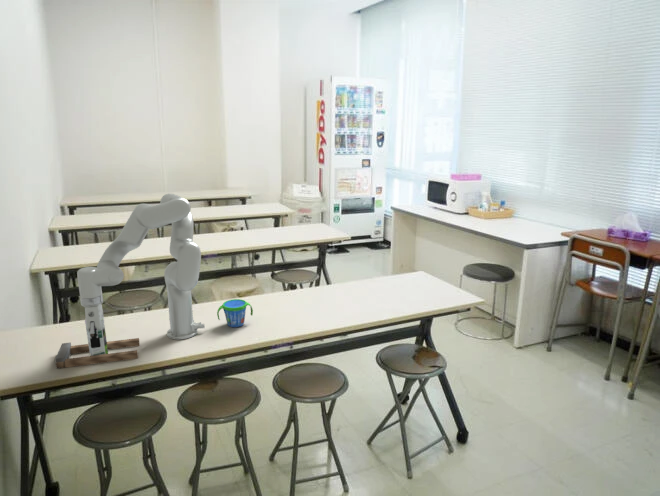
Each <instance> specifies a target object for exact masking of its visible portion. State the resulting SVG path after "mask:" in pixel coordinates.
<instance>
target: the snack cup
mask: <svg viewBox="0 0 660 496" xmlns="http://www.w3.org/2000/svg"><path fill="white" fill-rule="evenodd" d="M247 306H249V307H250V316H253V313H254V310H253V307H252V305H251V303H249V302H247V301H246V300H245V299H239V298H238V299H237V298H236V299H235V298H234V299H229V300H226V301H224V302H223V303H222V305H220V306H219V307H218V309H217V312H216V313H217V315H216V316H217V319H218V321H220V320H221V319H220V315H219V314H220V313H219V312H220V311H221V310H222V309H223V312H224V315H225V321H226V324H227V326H228V327H230V328H238V327H239V328H240V327H242V326H244V324H245V318H246V309H247Z"/></svg>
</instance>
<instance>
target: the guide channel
mask: <svg viewBox="0 0 660 496" xmlns="http://www.w3.org/2000/svg"><path fill="white" fill-rule="evenodd" d="M71 343H72V342H64V343H61V345H60V347H59V350H58V352H57V353H56V356H55V358H54V362H55V368H56V369H57V370H58V369H65V368H73V367H79V366H89V365H95V364H104V363H111V362H121V361H126V360H127V361H128V360H133V359H139V353H138V350H137V349H136V350H135V349H134V350H125V351H120V352H119V351H118V352H112V353H111V352H110V353H108V354H102V355H94V356H91V355H87V356H79V357H71V355H75V354H83V353H90V352H89V345H88V343H86V344H77V345H72V344H71ZM140 345H141V344H140V338H139V337H136V338H127V339H120V340H113V341H111V340H110V341H107V348H108V350H114V349H115V350H116V349H122V348H124V349H125V348H132V347H139V346H140Z"/></svg>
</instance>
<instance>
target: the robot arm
mask: <svg viewBox="0 0 660 496" xmlns="http://www.w3.org/2000/svg"><path fill="white" fill-rule="evenodd" d="M191 211H192V210H191V204H190V202H189V200H188V199H186V198H185V197H182V196H179V195H178V194H174V193H166V194H164V195H162V197H161V199H160V202H159V203H158V204H155V205H151V204H149V203H139V204H137V206H135V208H134V209H133V211H132V212H131V214H130V215H129V217H128V218H127V221H126V222H125V224H124V226H123V227H122V230H121V231H120V233H119V235H118V236H117V237H116V238H114V240H113V241H112V242H111V243H110V244H109V245H108V246H107V248H106V249H105V250H104V252H103V254H102V255H101V256H100V259H99V261H98V262H97V265H96V266H86V267H80V268H79V269H78V270H77V271H76V272H77V273H76V274H77V275H76V276H77V283H78V285H77V286H78V291H79V298H80V299H79V300H80V306H82V307H83V308H84V314H85V319H86V324H87V330H88V331H89V332H90V342H91V348H97V347H100V346H101V345H100V337H99V336H98V330H102V328H103V327H102V318H103V320H104V321H105V317H104V311H103V305H102V304H103V303H104V297H103V291H102V290H103V289H102V287H113V286H116V285H119V284H120V283H122V281H124V277H125V274H124V271H123V270H122V269H121V268H120V267H119V266H120V264H121V262H122V261H123V259H124V258H125V256H127V254H128V253H130V252H132V251H134V250H136V249H139V247H140V246H141V245H142V243H143V242H144V239H145V237H146V236H147V235H148V232H149V231H150V230H153V229H158V228H162V227H164V226H167V225H170V224H171V235H170V243H169V254H170V255H171V257H172V258H174V259H175V260H176V261H172V262H171V263H169V264H167V266H166V267H165V269H164V275H163V276H164V282H165V286H166V287H165V288H166V291H167V292H166V293H167V304H168V318H169V328H168V329H167V332H166V336H167V337H168V338H169V339H172V340H185V339H190V338H193V337H195V336H196V335H197V334H198V331H199V329H205V323H202V322H195V320H194V316H193V314H194V313H193V312H194V311H193V300H192V290H193V289H195V288H196V286H197V284H198V282H199V278H200V270H201V261H202V251H201V248H200V245H198V244H197V243H196V242H195V241H194V240H193V239H194V225H195V224H194V218H193V215H192V212H191ZM86 324H85V325H86ZM94 328H97V330H94ZM95 332H96V333H95Z"/></svg>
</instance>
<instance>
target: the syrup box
mask: <svg viewBox="0 0 660 496" xmlns="http://www.w3.org/2000/svg"><path fill="white" fill-rule="evenodd" d="M84 324H85V330H86V336H87V344H88V345H89V352H88V353H89V355H90V356H94V355H102V354H109V349H108V348H107V342H108V341H107V335H106V334H107V333H106V325H105V319H104V320H103V318H102V327H103V328H102V330H98V336H99V337H100V345H101V346H100V347H97V348H91V342H90V332H89V331H88V330H87V324H86V318H85V319H84ZM94 330H97V328H94ZM95 333H96V332H95Z"/></svg>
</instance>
